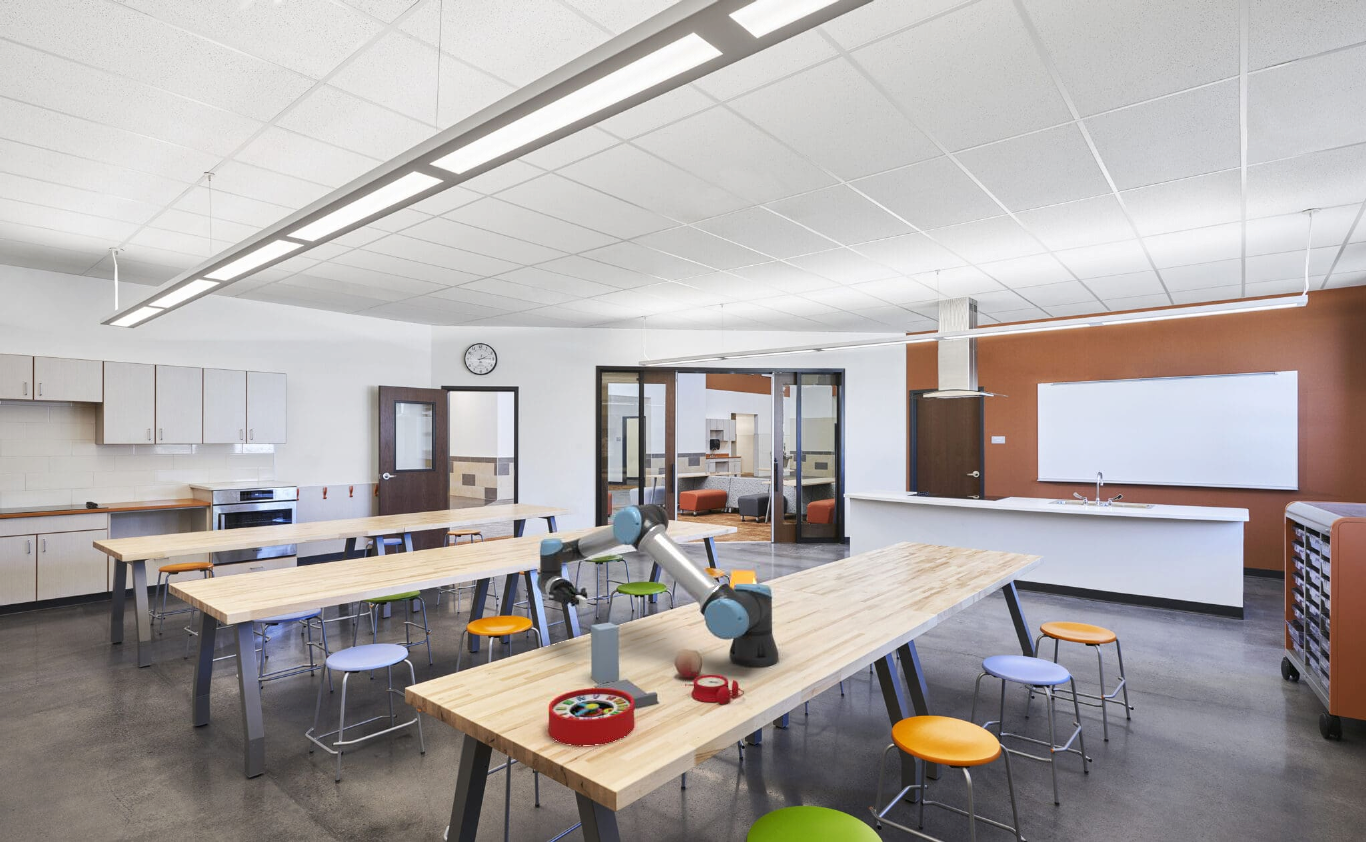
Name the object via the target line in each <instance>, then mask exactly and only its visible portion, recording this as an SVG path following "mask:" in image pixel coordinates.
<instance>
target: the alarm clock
mask: <svg viewBox="0 0 1366 842" xmlns="http://www.w3.org/2000/svg"><path fill="white" fill-rule="evenodd" d="M684 686H685V687H686V686H687V683H685V684H684ZM688 686H689V687H690V686H692V687H693V689H692V691H691V698H693V699H694V700H697V701H699V702H701V703H702V702H703V703H719V705H726V704H728V703H729V702H730V700H731V698H740V697H741V696H743V695H744V694H745V691H744V690H742V689H741V688H740V687H739V683H738V681H737V680H734V679H733V680H732V683H731V689H730V688H729V680H728V678H726V677H725V676H722V675H717V674H704V675H699V676H696V677H694V678H693V684H688ZM739 691H740V692H742V694H739ZM738 694H739V695H738Z"/></svg>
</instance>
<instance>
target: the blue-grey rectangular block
mask: <svg viewBox="0 0 1366 842" xmlns="http://www.w3.org/2000/svg"><path fill="white" fill-rule="evenodd" d="M619 632H620V630H619V626H617V625H616V624H614V623H612V622H604V623H597V624H592V625H590V656H591V657H590V660H591V662H590V663H591V664H590V667H591V668H590V669H591V670H590V671H591V675H590V676H591V679H592V678H593V679H592V680H593V681H595V682H596V683H597V682H598V683H597V684H598V685H601V683H604V684H606V682H609V683H611V681H614V682H615V681H617V680H618V681H620V651H619V650H620V649H619V647H620V646H619V645H620V644H619V643H620V641H619V637H620V636H619V635H620V634H619Z"/></svg>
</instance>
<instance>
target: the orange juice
mask: <svg viewBox="0 0 1366 842" xmlns="http://www.w3.org/2000/svg"><path fill="white" fill-rule="evenodd" d="M738 583H751V584H758V582H757V578H756V573H755V570H739V569H738V570H737V569H736V570H735V569H733V570H731V574H730V581H729V586H730V587H732V588H733V589H734V585H735V584H738Z"/></svg>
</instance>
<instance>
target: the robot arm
mask: <svg viewBox="0 0 1366 842" xmlns="http://www.w3.org/2000/svg"><path fill="white" fill-rule="evenodd" d="M669 519H670V518H669V515H668V513H667V511H666V510H665V509H664V508H663V507H662V506H661V505H658V504H655V503H647V504H640V505H639V504H638V505H627V507H623V508H621V509H619V510H618V511H617V512H616V513H615V516H614V518H613V521H612V525H610V526H608V527H605V528H603V529H600V530H597V531H594V532H592V533H590V534H586V535H585V536H582V537H579V538H577V539H573V540H570V541H565V542H564V541H562V539H561V538H544V539H542V540H541V541H540V547H539V558H540V559H539V561H540V562H539V569H540V570H539V574H538V576H537V578H536V579H537V580H536V587H537V589H538V590H539V591H540V593H542V594H544V595H546V596H548V601H554V602H556V603H560V604H564V605H569V604H571V605H570V607H575V606H577V607H579V608H580V609H588V593H587V588H586V587H582V588H579V589H578V588H576V587H574V584H573V583H572V582H571V581H569V580H567V579H565V578H564V577H563V575H562V574H563V565H565V564H569V563H574V562H578V561H579V562H580V561H583V560H586V559H588V558H589V557H592V556H595V555H598V554H601V553H604V552H606V551H608V550H612V549H615V548H617V547H619V546H620V547H621V546H623V545H624V546H632V547H633V548H634V550H636V551H637V552H638V553H639V554H641V555H642V554H647V556H649V557H650V558H651V559H652V560H653V561H654V562H655V563H656V564H657V565H659V566H660V568H661V569H662V570H664V571H665V573H667V575H668V576H669V577H670V578H672V579H673V580H674V581H675V582H676V583H677V585H679V586H680V587H681V588H682V589H683V590H684V591H685V592H686V593H687V594H688V595H690V597H691V598H692V599H693V600H695V602H696V603H698V605H699V612H700V613H701V614H702V615H703V618H704V621H705V625H706V628H707V629H708V631H709V633H711V634H712V635H713V636H714V637H717V638H718V639H721V640H732V641H731V645H730V649H729V653H728V654H729V656H728V657H729V661H730V662H731V663H732V664H734V665H735V664H736V665H737V666H742V667H747V668H761V667H762V668H763V667H768V666H772V665H775V664H777V663H778V662H779V659H780V658H779V649H778V646H777V644H776V641H775V639H774V635H773V596H772V588H771V587H770V586H769V585H767V584H761V583H757V584H751V583H738V584H735V585H734V589H733V588H732V587H730V584H728V582H718V580H717V579H716V578H714V577H713V576H712V575H711V574H710V573H709V572H708V570H706V569H705V568H704V567H703V566H702V565H700V564H699V563H698V562H697V561H696V560H695V559H694V558H693V557H692V556H691V555H690V554H689V553H687V552H686V551H685V550H684V549H683V548H682V547H681V546H680V544H678V543H677V542H676V541H675V540H674V539H673V538H671V537H670V536H669V535H668V534H667V533H666V532H667V530H668V528H669V524H670V521H669Z"/></svg>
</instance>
